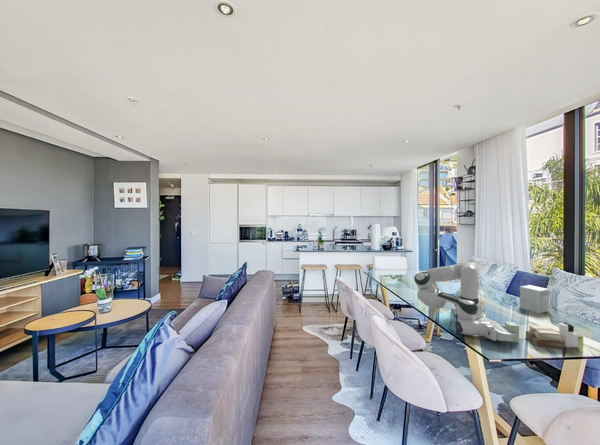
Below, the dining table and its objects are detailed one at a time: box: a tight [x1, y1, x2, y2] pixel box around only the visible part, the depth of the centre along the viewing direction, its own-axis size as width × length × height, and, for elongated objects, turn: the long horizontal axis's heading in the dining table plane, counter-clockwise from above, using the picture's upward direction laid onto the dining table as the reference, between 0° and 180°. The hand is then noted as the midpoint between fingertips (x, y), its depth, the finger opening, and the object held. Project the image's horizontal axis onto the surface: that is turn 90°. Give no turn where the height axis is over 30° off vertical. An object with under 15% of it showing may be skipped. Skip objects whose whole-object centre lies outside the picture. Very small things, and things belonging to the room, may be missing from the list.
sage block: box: [504, 321, 520, 343], centre depth 159 cm, size 5×5×10 cm
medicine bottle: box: [554, 322, 579, 348], centre depth 154 cm, size 7×7×12 cm
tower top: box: [528, 324, 561, 341], centre depth 155 cm, size 10×10×4 cm
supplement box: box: [519, 284, 550, 314], centre depth 208 cm, size 13×13×18 cm
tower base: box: [525, 330, 565, 350], centre depth 155 cm, size 12×12×4 cm
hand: (512, 331), depth 159 cm, fingers open, 8 cm apart
